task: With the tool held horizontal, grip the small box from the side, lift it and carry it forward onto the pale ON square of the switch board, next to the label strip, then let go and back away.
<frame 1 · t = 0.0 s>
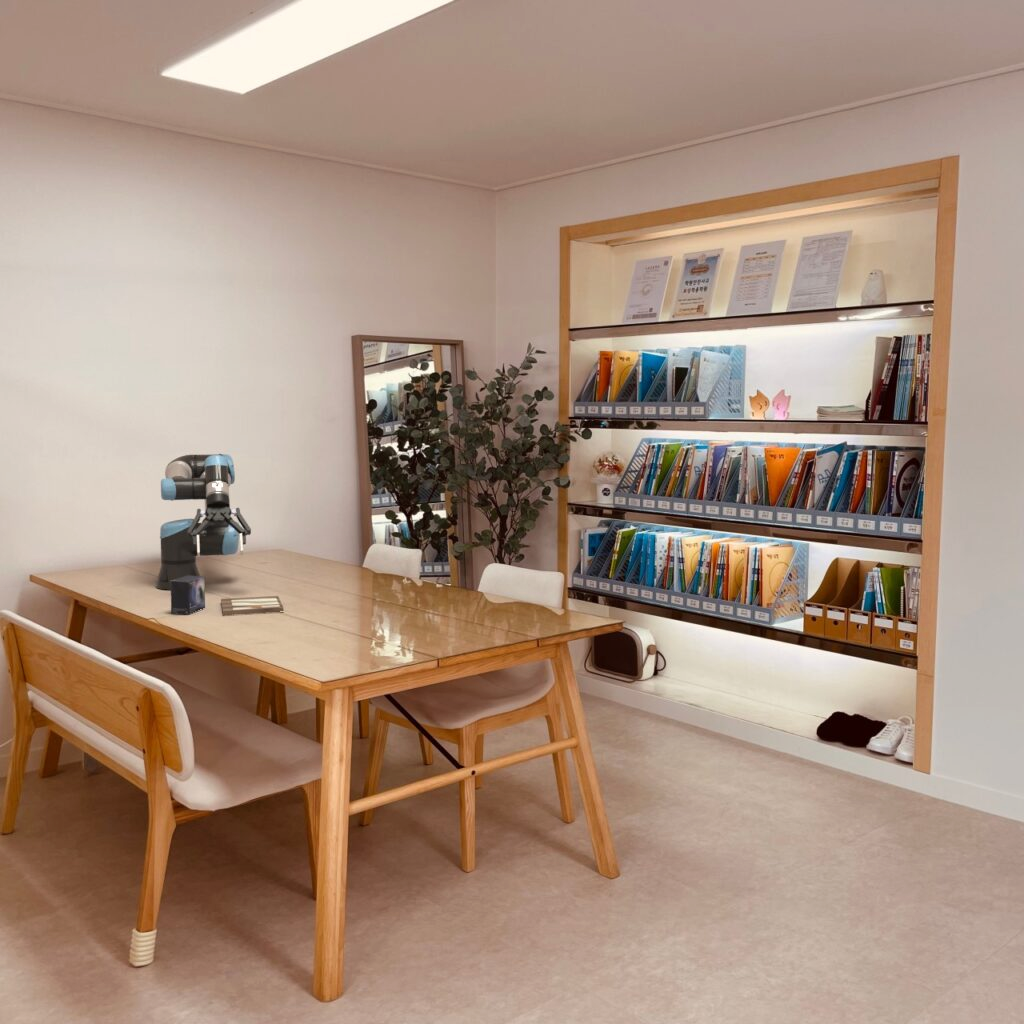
hand: (220, 553, 342), 15 cm above the table, tool tilted 35°, fingers open, 13 cm apart
small box: (188, 612, 325), on the table
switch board: (251, 607, 331), on the table
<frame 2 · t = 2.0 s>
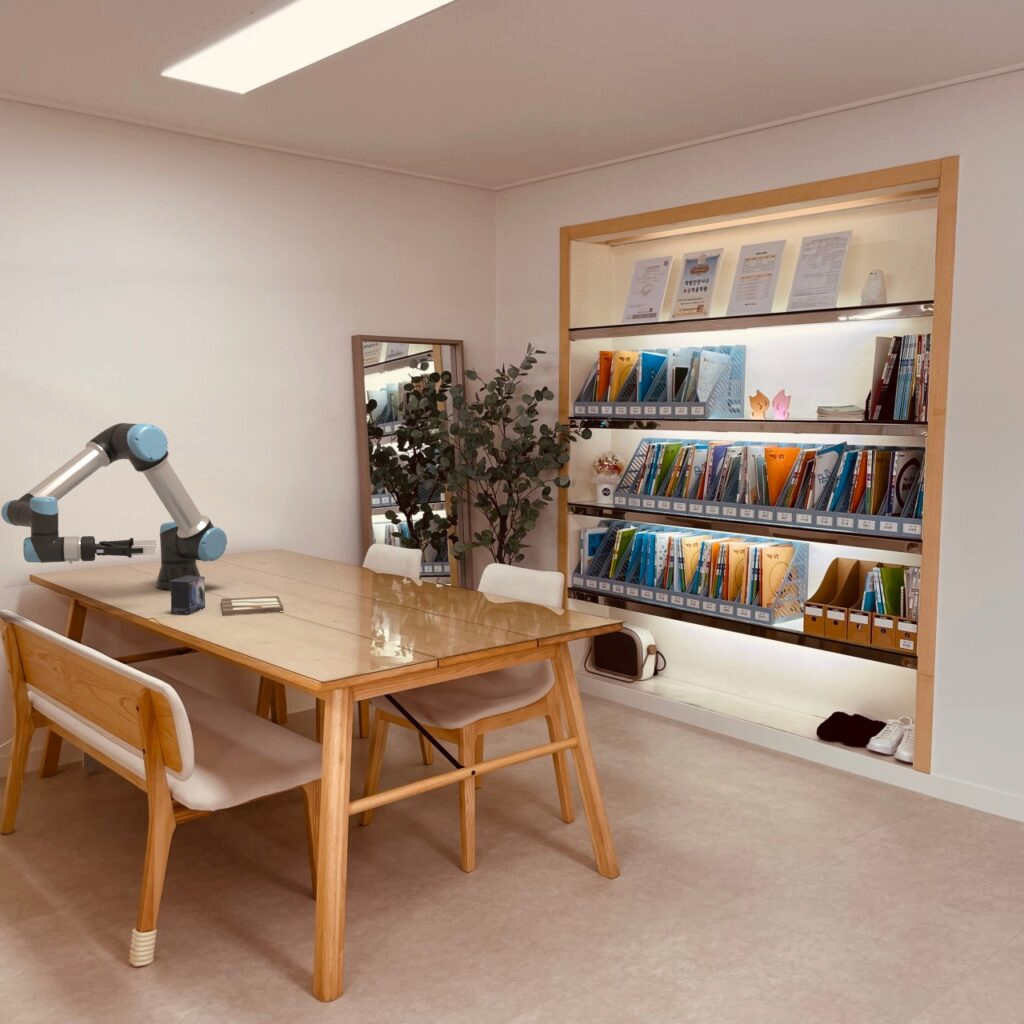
hand: (155, 546, 320), 20 cm above the table, tool horizontal, fingers open, 13 cm apart
nothing on the table moved.
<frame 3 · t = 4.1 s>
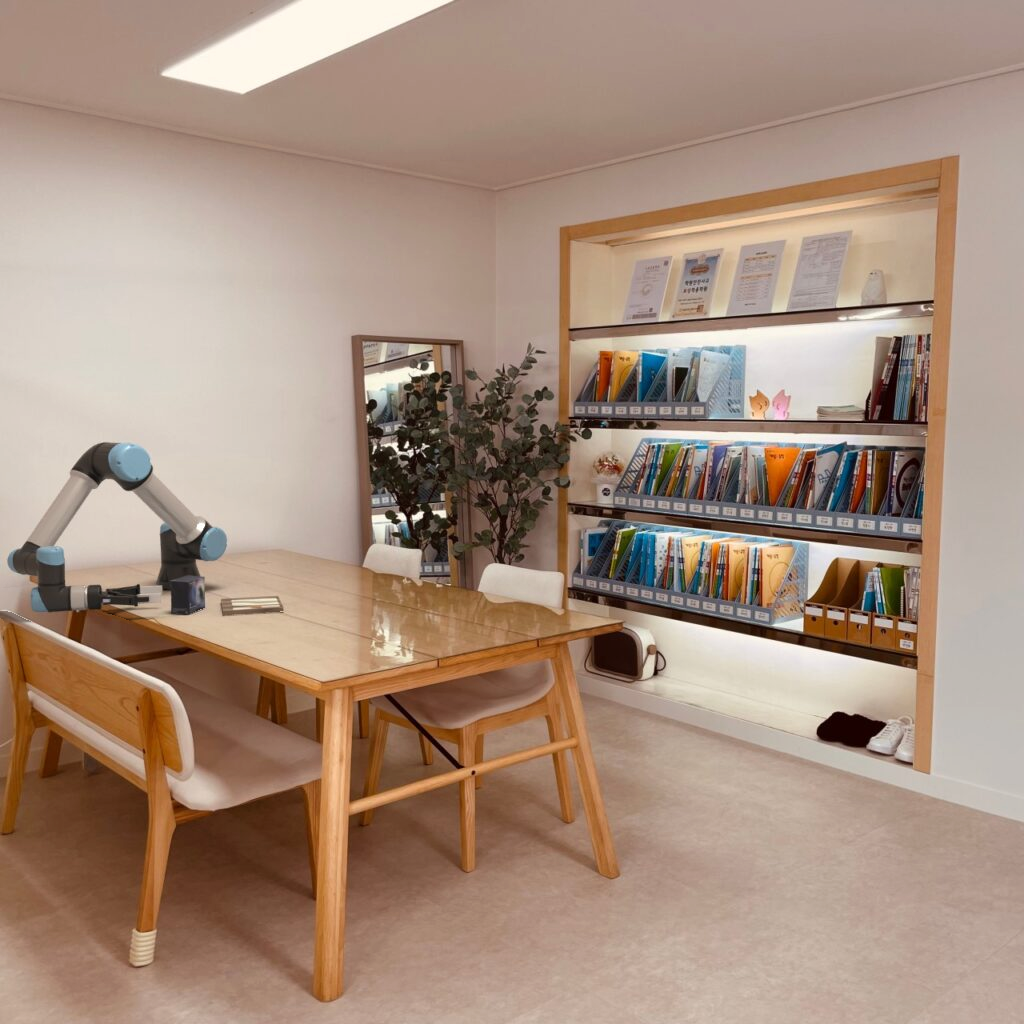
hand: (161, 593, 322), 6 cm above the table, tool horizontal, fingers open, 13 cm apart
nothing on the table moved.
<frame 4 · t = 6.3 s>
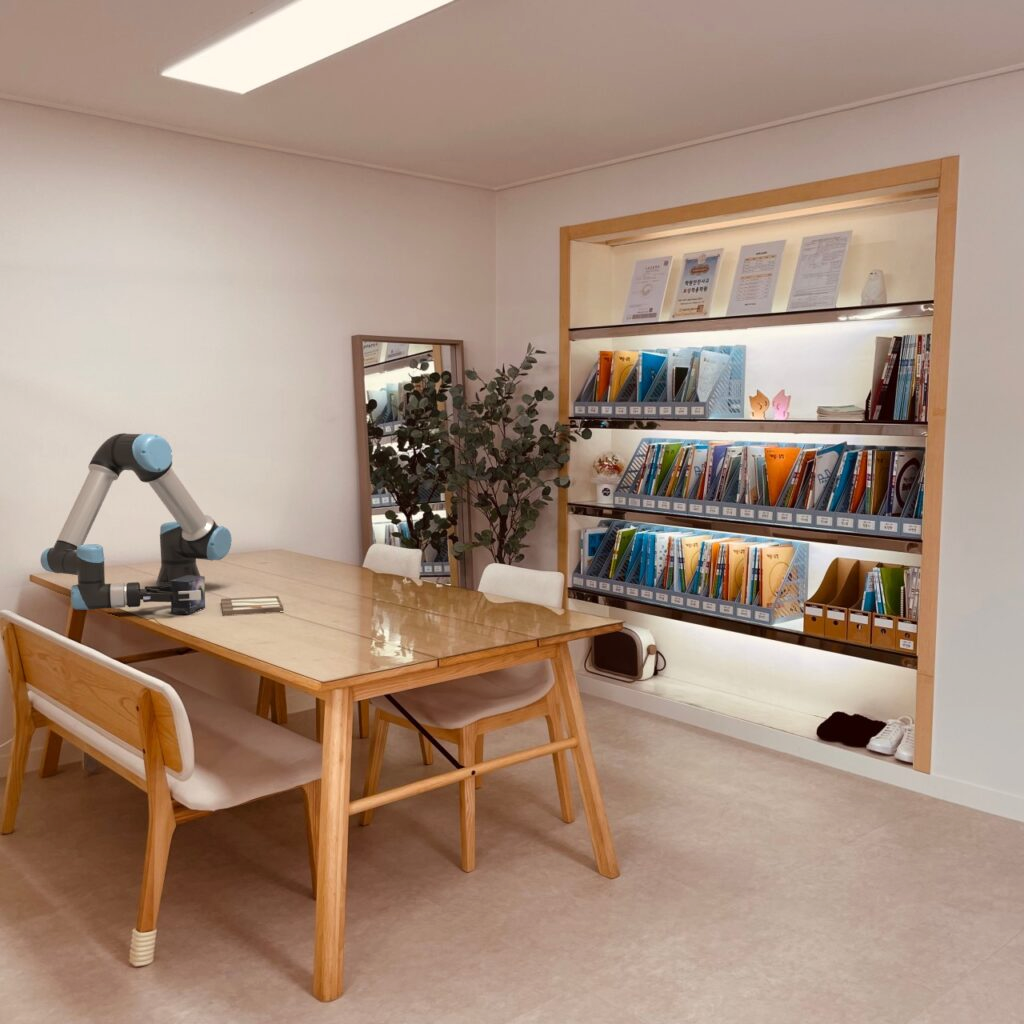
hand: (200, 591, 326), 6 cm above the table, tool horizontal, fingers closed on small box, 12 cm apart
small box: (188, 611, 325), on the table, touching gripper
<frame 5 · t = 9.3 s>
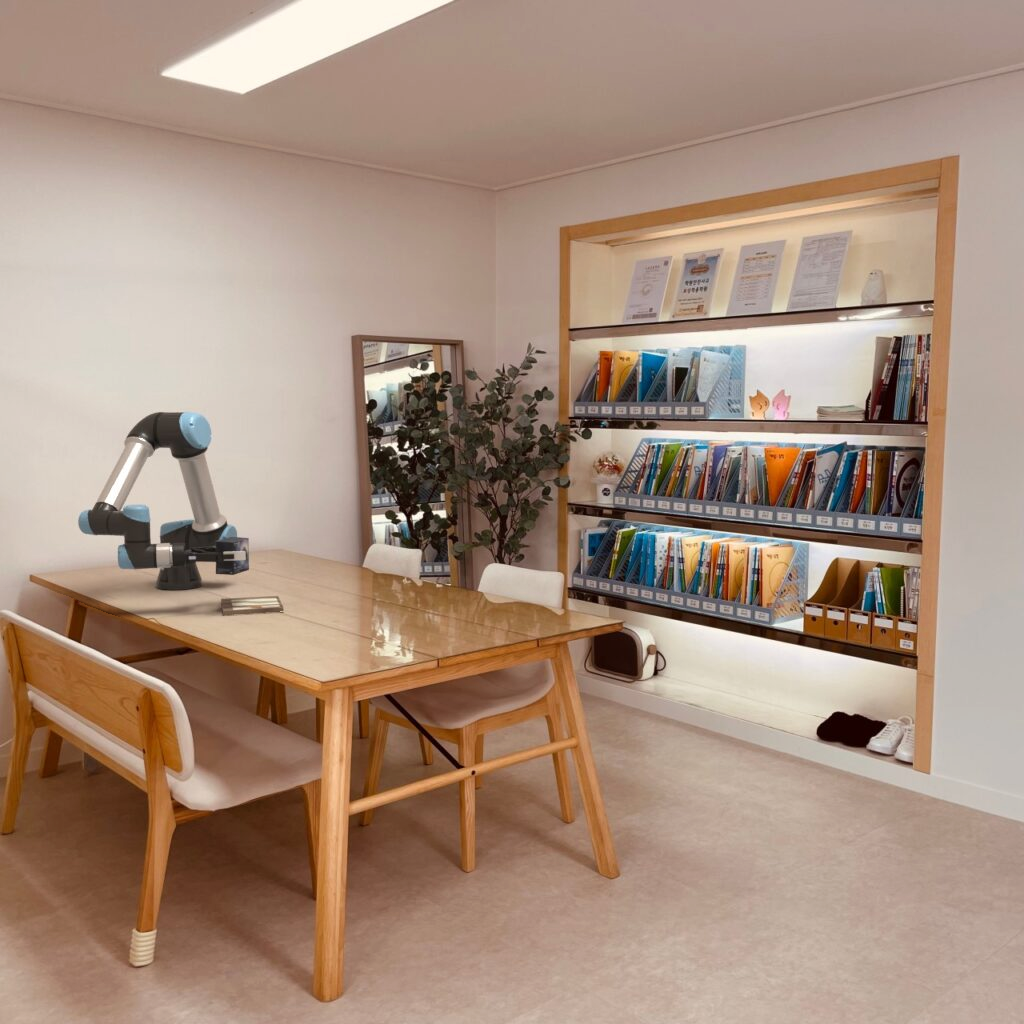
hand: (245, 552, 327), 18 cm above the table, tool horizontal, fingers closed on small box, 12 cm apart
small box: (232, 572, 327), point 12 cm above the table, touching gripper
when the fingers open (9 cm above the table, at t = 12.2 s): small box drops 1 cm, resting on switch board.
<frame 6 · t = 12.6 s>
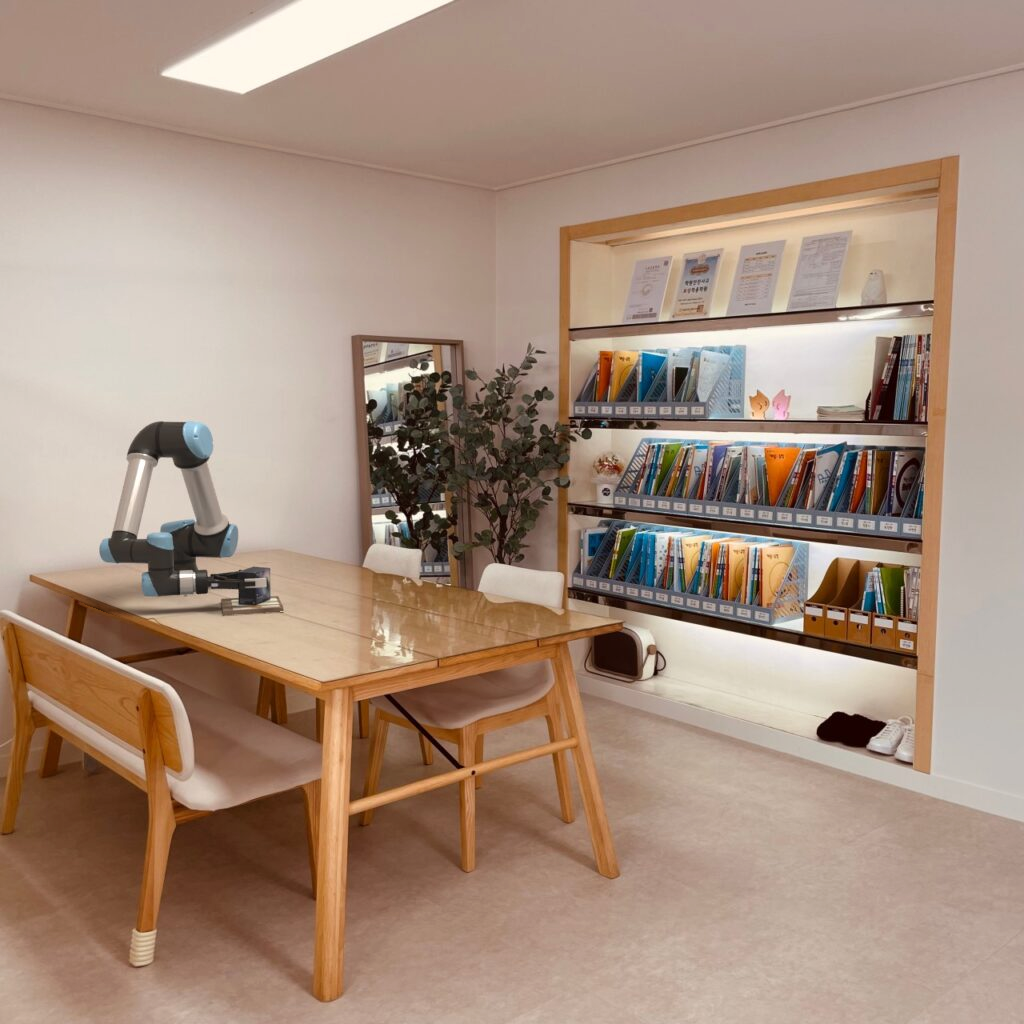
hand: (264, 578, 331), 9 cm above the table, tool horizontal, fingers open, 13 cm apart
small box: (255, 602, 331), point 2 cm above the table, touching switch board
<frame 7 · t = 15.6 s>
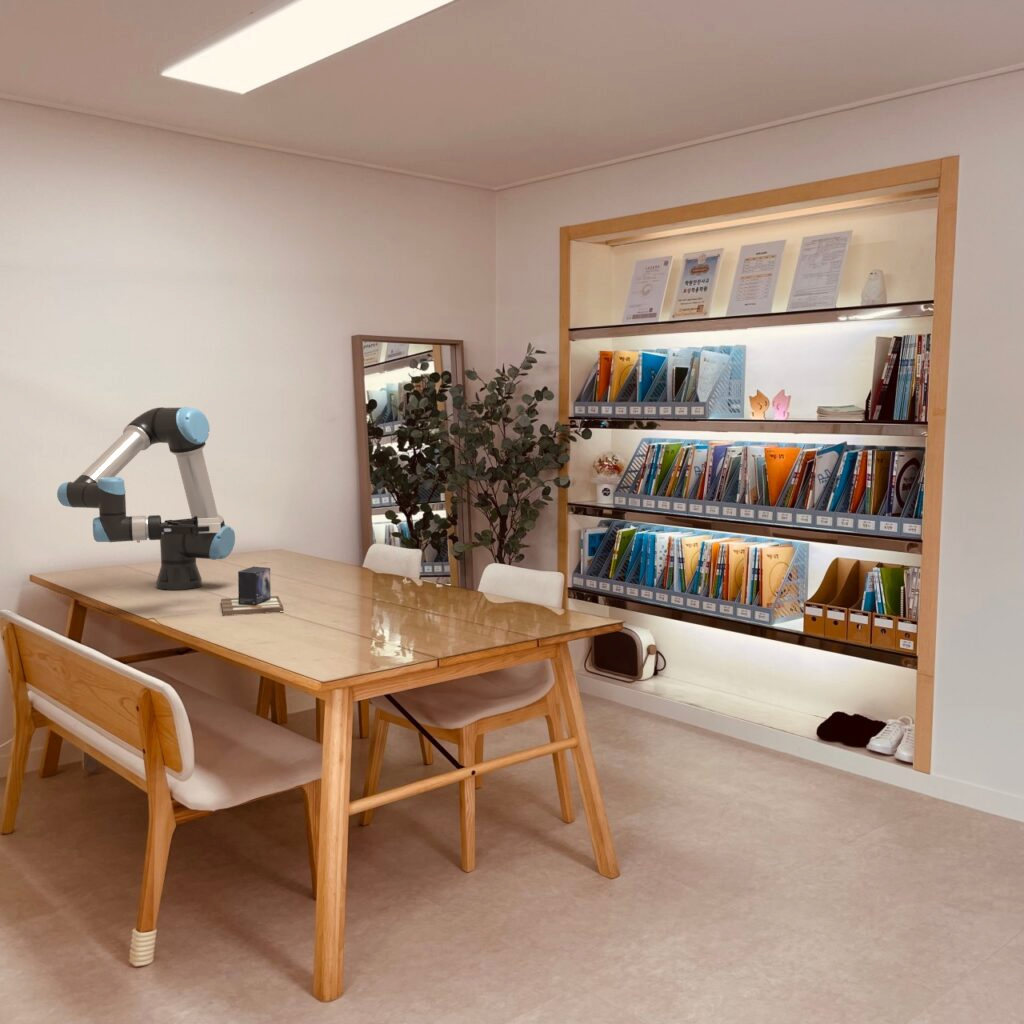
hand: (220, 524, 325), 27 cm above the table, tool horizontal, fingers open, 13 cm apart
nothing on the table moved.
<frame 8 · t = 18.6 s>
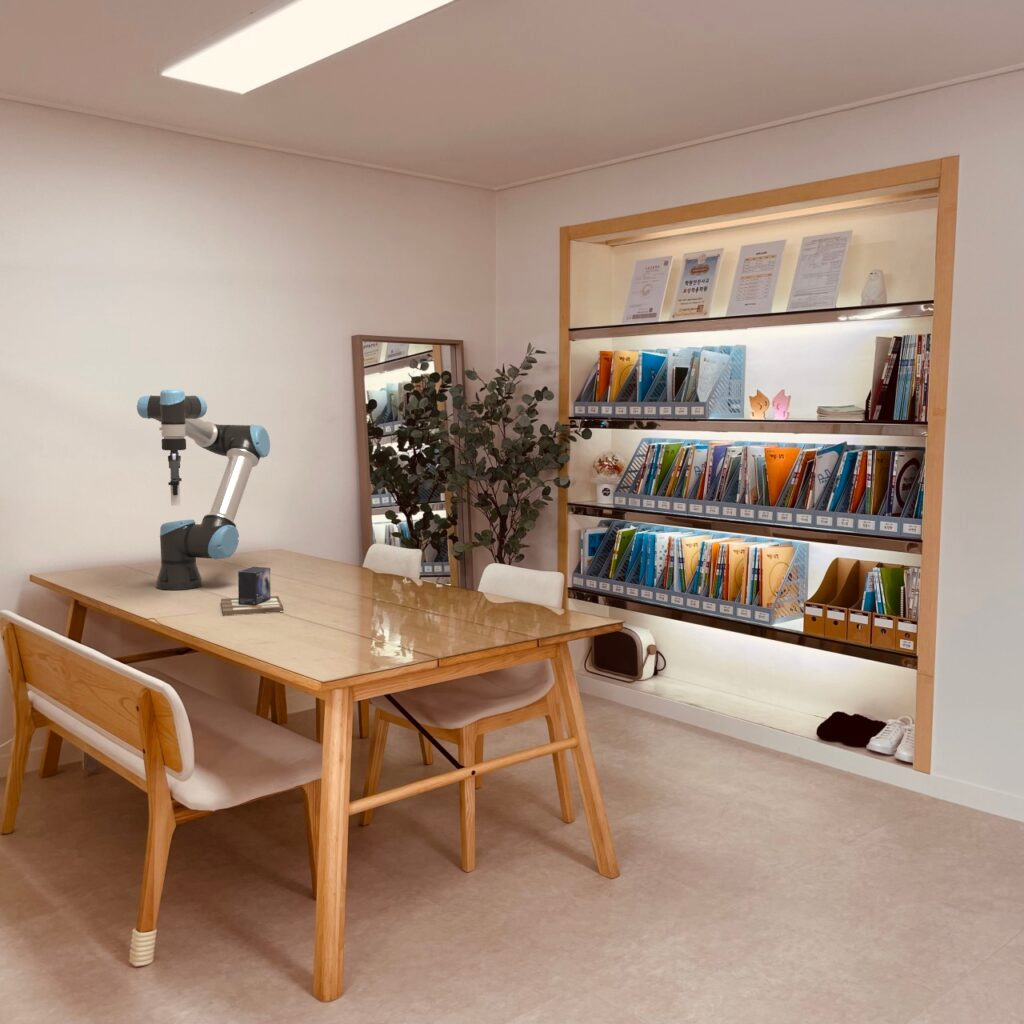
hand: (175, 503, 340), 32 cm above the table, tool pointing down, fingers open, 13 cm apart
nothing on the table moved.
at the end: small box 0.1 cm from the target spot on the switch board, point 1.6 cm above the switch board's base; small box tilted 0°; the gripper is holding nothing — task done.
